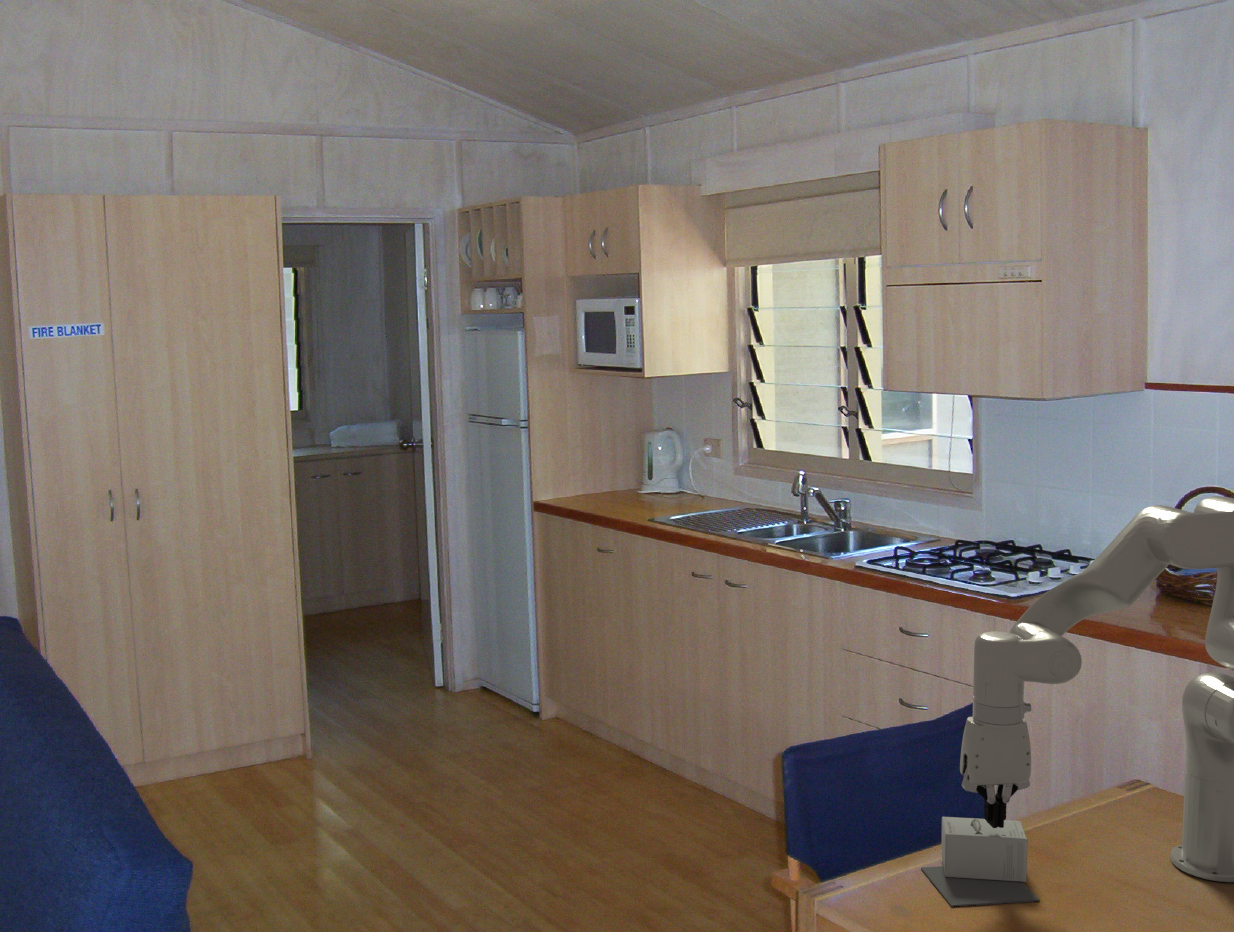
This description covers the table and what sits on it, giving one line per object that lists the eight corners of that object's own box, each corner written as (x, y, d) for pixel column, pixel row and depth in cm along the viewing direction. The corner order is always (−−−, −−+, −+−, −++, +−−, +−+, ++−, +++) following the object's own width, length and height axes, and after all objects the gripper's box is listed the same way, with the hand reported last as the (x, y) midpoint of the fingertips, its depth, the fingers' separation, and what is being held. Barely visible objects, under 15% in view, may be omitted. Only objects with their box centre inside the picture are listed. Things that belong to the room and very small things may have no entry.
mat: (1004, 864, 201) (1004, 862, 201) (1039, 901, 188) (1040, 899, 188) (921, 869, 199) (921, 867, 199) (951, 907, 186) (951, 905, 186)
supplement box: (1028, 838, 192) (945, 834, 194) (1027, 883, 193) (944, 878, 195) (1021, 819, 200) (941, 815, 202) (1020, 862, 200) (940, 858, 203)
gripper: (1033, 702, 197) (1029, 813, 199) (942, 706, 195) (940, 817, 197) (1054, 717, 189) (1050, 832, 191) (960, 721, 188) (958, 837, 190)
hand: (994, 824), depth 194 cm, fingers closed
